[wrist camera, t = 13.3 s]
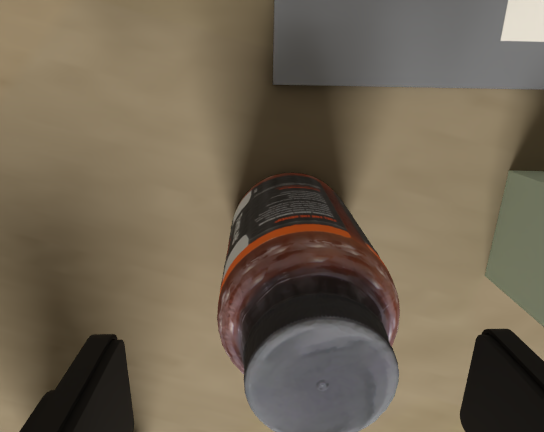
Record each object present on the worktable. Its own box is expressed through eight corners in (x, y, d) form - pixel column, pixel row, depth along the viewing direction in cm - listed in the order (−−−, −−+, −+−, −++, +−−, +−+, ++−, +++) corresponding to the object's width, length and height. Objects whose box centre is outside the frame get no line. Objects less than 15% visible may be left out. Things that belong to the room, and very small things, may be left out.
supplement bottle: (210, 207, 20) (152, 354, 9) (310, 147, 19) (375, 231, 8) (270, 294, 22) (280, 500, 11) (365, 242, 21) (476, 412, 10)
